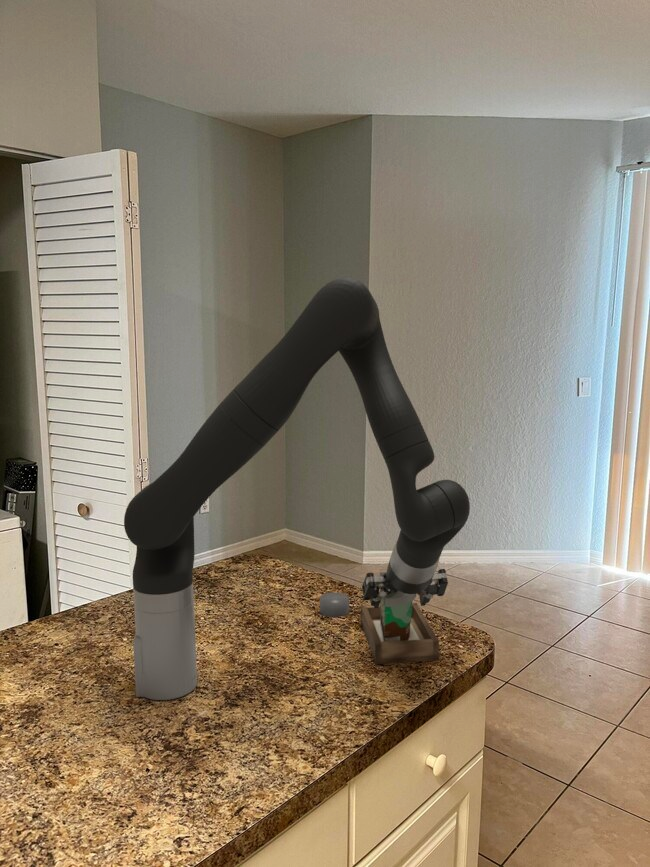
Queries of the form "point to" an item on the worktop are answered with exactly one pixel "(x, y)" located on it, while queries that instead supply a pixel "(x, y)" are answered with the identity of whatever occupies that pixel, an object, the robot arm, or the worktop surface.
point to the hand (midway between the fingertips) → (398, 602)
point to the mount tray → (412, 650)
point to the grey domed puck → (334, 604)
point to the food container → (396, 616)
